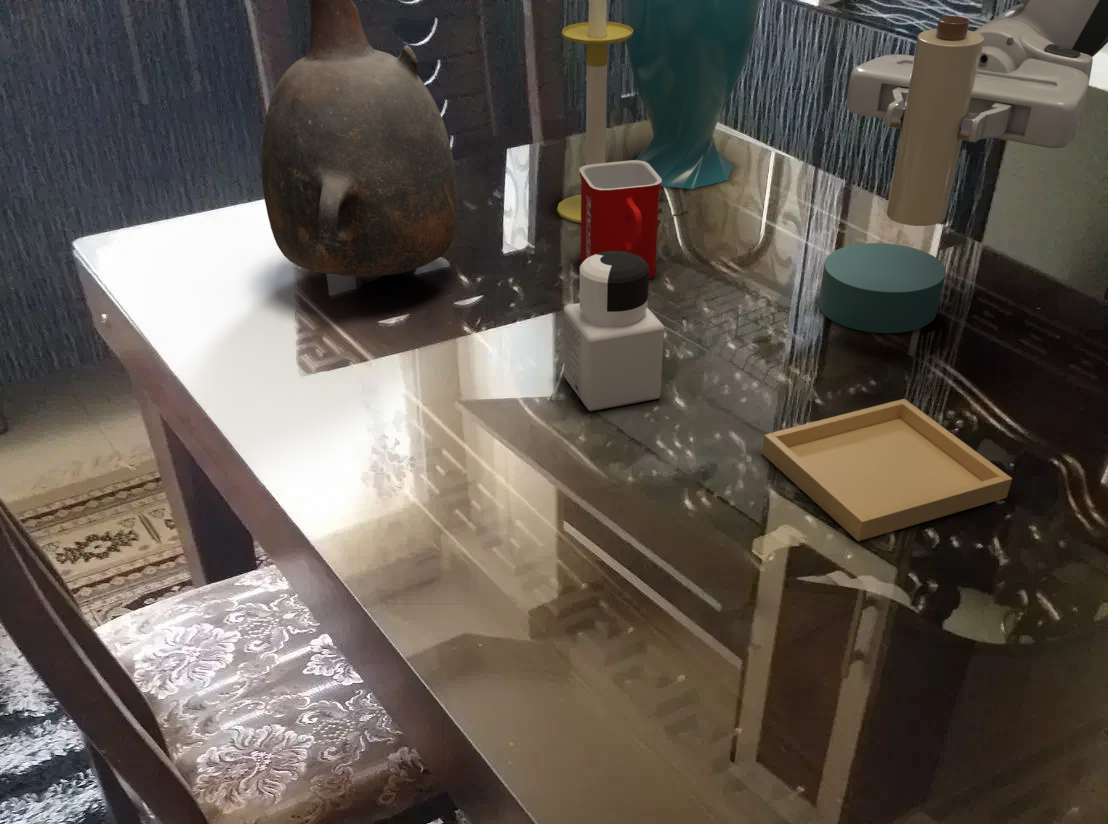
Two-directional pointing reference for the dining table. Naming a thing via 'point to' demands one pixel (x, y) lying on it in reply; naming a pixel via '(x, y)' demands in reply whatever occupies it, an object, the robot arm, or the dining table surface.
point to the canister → (934, 122)
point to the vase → (687, 79)
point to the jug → (356, 157)
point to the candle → (594, 87)
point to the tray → (884, 468)
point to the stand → (881, 287)
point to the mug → (620, 209)
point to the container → (613, 334)
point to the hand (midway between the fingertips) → (930, 124)
